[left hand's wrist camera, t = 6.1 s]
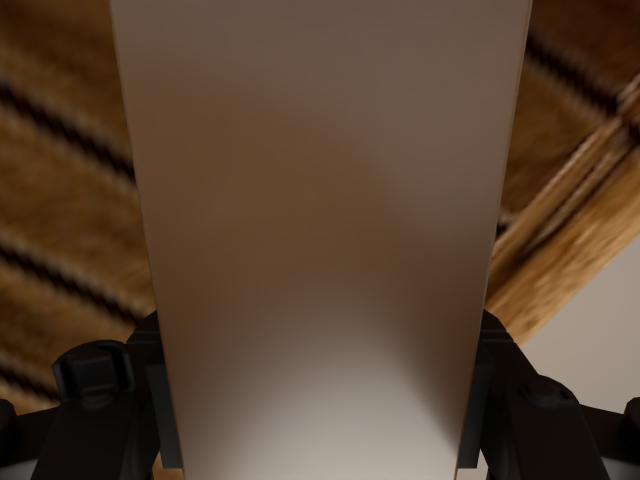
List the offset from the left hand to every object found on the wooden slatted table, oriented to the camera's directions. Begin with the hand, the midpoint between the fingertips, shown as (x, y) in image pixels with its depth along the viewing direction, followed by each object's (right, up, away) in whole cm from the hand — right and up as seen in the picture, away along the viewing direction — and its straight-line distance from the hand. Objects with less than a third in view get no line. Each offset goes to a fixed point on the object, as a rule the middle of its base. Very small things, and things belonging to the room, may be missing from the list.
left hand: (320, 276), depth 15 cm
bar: (0, +9, -3) cm, 10 cm away
